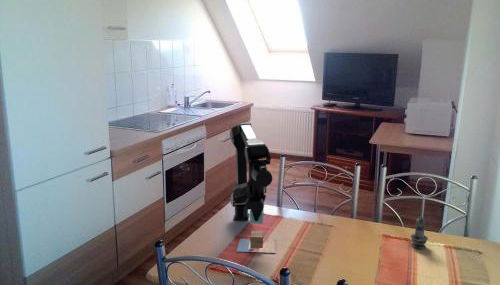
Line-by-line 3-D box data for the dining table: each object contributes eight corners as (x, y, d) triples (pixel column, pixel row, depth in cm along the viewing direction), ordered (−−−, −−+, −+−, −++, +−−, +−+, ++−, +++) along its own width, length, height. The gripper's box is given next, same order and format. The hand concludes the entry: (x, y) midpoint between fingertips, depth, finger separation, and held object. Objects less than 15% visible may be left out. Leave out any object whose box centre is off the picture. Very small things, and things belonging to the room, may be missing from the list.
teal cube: (251, 218, 154) (251, 206, 153) (263, 218, 153) (263, 207, 152) (250, 223, 149) (249, 211, 148) (262, 223, 149) (262, 212, 148)
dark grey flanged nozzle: (426, 243, 154) (429, 213, 151) (427, 251, 149) (430, 220, 146) (409, 241, 156) (412, 211, 153) (410, 248, 150) (412, 218, 148)
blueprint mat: (240, 239, 159) (240, 238, 159) (276, 240, 158) (276, 239, 158) (236, 252, 150) (236, 251, 149) (275, 253, 148) (275, 252, 148)
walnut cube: (251, 242, 156) (251, 231, 155) (263, 242, 155) (263, 231, 154) (250, 248, 152) (250, 236, 151) (262, 248, 151) (262, 237, 150)
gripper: (237, 169, 157) (238, 207, 161) (230, 186, 139) (231, 228, 143) (266, 169, 156) (266, 208, 160) (263, 186, 138) (263, 230, 142)
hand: (256, 218), depth 151 cm, fingers closed on teal cube, 4 cm apart
